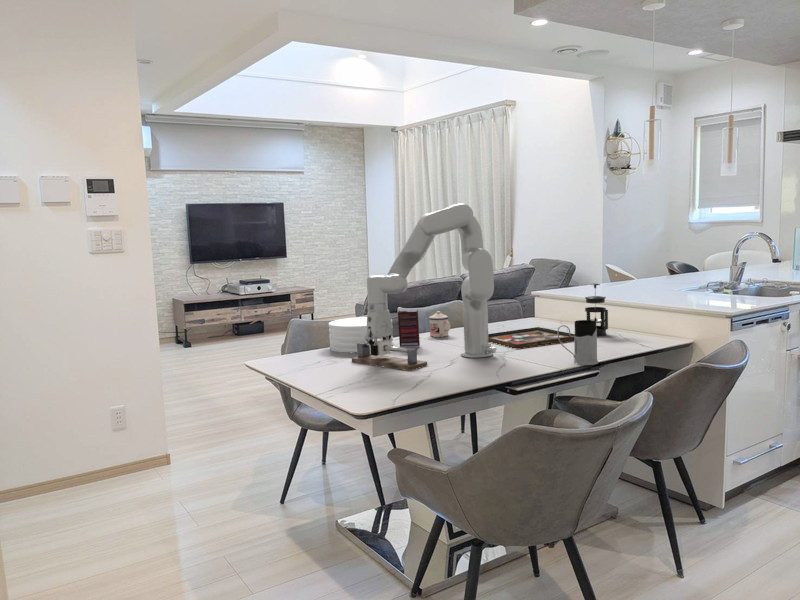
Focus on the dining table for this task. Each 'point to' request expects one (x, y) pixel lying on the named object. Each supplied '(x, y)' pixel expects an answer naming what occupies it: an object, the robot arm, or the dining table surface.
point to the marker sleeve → (380, 345)
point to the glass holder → (584, 342)
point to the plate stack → (348, 334)
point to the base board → (389, 362)
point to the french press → (604, 321)
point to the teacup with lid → (439, 325)
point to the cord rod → (364, 349)
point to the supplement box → (408, 329)
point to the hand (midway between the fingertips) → (380, 353)
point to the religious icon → (529, 337)
